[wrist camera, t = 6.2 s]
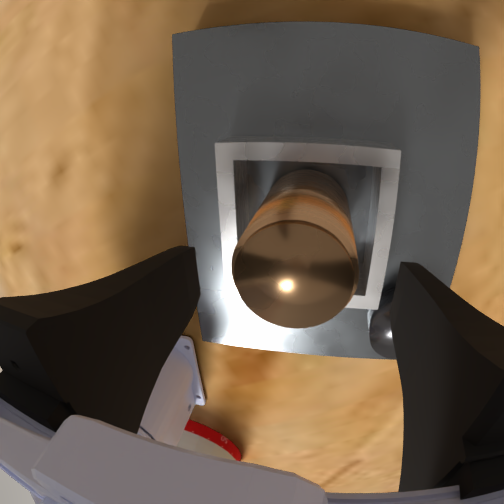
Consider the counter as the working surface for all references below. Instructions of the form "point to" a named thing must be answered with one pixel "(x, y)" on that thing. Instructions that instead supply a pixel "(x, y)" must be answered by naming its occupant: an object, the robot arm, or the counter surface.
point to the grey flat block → (325, 159)
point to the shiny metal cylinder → (298, 253)
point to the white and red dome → (207, 442)
